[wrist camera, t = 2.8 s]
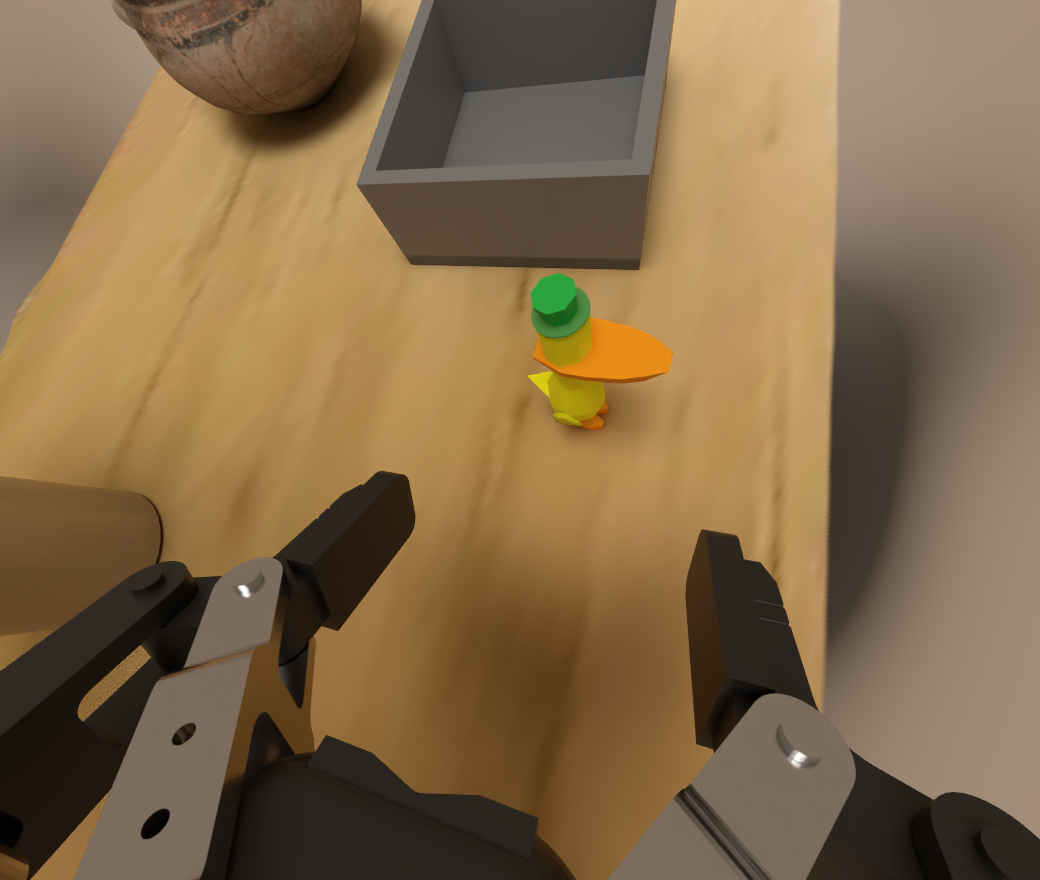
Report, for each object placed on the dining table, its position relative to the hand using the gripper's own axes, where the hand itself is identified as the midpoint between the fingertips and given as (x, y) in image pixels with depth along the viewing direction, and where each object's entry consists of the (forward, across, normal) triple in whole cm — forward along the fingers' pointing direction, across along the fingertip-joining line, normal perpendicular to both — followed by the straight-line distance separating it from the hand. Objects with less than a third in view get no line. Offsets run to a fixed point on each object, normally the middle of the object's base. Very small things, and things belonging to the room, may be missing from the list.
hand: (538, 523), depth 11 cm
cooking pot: (+36, +33, -18) cm, 52 cm away
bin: (+27, +7, -10) cm, 30 cm away
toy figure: (+14, 0, +4) cm, 15 cm away
